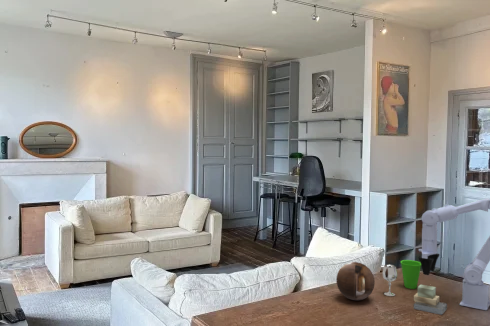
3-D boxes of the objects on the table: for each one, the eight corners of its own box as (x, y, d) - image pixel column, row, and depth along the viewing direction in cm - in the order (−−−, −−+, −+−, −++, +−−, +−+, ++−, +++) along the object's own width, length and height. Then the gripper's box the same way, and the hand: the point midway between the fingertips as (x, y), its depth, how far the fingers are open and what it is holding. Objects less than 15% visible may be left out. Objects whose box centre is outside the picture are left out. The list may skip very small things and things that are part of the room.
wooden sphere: (338, 291, 183) (339, 256, 183) (375, 295, 178) (375, 260, 178) (333, 303, 169) (334, 265, 169) (373, 307, 164) (374, 269, 164)
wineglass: (387, 297, 177) (388, 268, 176) (379, 292, 182) (380, 264, 182) (399, 296, 178) (400, 267, 178) (391, 291, 184) (391, 264, 183)
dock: (446, 308, 164) (447, 303, 164) (441, 314, 158) (442, 309, 157) (419, 303, 170) (419, 298, 170) (413, 308, 164) (413, 303, 164)
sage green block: (439, 301, 166) (439, 287, 166) (435, 305, 162) (435, 291, 161) (417, 297, 171) (418, 283, 171) (413, 301, 166) (413, 287, 166)
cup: (423, 291, 185) (424, 265, 185) (401, 289, 187) (402, 264, 186) (418, 284, 194) (419, 260, 194) (397, 283, 196) (398, 259, 195)
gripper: (424, 236, 184) (423, 267, 184) (414, 241, 173) (413, 274, 173) (441, 238, 180) (440, 270, 180) (432, 243, 168) (432, 277, 169)
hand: (428, 272), depth 176 cm, fingers open, 7 cm apart
